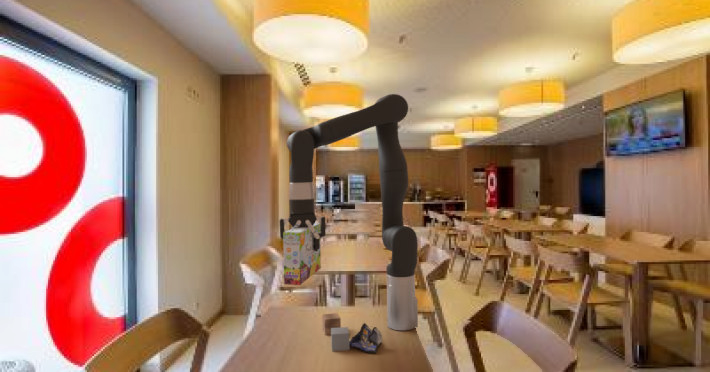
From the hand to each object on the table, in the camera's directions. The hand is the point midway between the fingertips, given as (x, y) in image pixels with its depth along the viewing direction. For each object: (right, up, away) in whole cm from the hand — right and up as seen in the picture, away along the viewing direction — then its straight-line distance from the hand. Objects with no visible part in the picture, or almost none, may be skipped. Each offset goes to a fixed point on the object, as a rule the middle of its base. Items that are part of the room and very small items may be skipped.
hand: (303, 251), depth 131 cm
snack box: (0, -8, 0) cm, 8 cm away
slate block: (+11, -27, -5) cm, 30 cm away
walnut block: (+8, -27, +8) cm, 29 cm away
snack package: (+20, -27, -4) cm, 34 cm away
